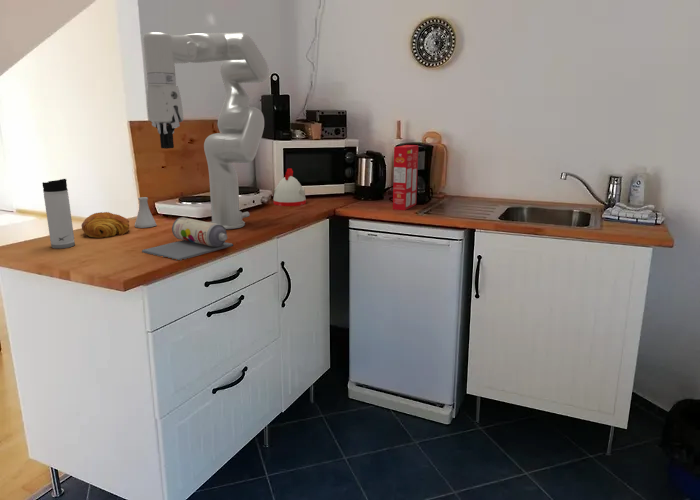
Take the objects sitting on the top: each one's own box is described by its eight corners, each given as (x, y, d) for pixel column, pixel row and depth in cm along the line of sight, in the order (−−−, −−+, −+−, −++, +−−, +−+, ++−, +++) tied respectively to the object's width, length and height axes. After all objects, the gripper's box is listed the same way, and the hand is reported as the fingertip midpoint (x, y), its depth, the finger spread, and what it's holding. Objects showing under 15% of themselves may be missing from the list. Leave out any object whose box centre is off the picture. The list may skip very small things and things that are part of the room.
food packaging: (404, 203, 231) (406, 144, 225) (416, 204, 229) (418, 145, 223) (392, 209, 218) (394, 147, 212) (404, 210, 216) (406, 147, 210)
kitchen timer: (309, 201, 236) (309, 167, 232) (300, 206, 223) (299, 170, 219) (280, 200, 239) (279, 166, 235) (268, 205, 226) (267, 169, 223)
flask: (140, 229, 181) (137, 200, 179) (130, 226, 186) (127, 197, 183) (160, 226, 186) (158, 197, 184) (150, 223, 191) (147, 195, 188)
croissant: (79, 246, 168) (75, 222, 165) (88, 229, 182) (83, 206, 178) (129, 242, 171) (125, 218, 168) (133, 225, 185) (129, 203, 182)
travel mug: (66, 249, 156) (57, 180, 150) (46, 248, 157) (36, 180, 151) (80, 244, 161) (72, 177, 156) (61, 243, 163) (51, 177, 157)
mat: (197, 238, 169) (197, 236, 169) (233, 245, 160) (233, 243, 160) (142, 252, 153) (141, 250, 153) (178, 260, 144) (178, 258, 144)
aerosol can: (168, 225, 161) (212, 234, 149) (184, 213, 165) (228, 221, 153) (177, 243, 165) (221, 253, 153) (193, 231, 169) (237, 240, 157)
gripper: (190, 80, 147) (195, 148, 151) (156, 81, 155) (161, 146, 159) (167, 79, 141) (173, 150, 145) (133, 80, 149) (139, 147, 153)
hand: (167, 148), depth 152 cm, fingers closed
